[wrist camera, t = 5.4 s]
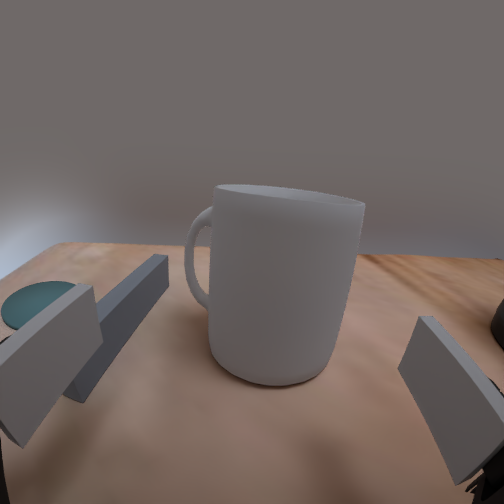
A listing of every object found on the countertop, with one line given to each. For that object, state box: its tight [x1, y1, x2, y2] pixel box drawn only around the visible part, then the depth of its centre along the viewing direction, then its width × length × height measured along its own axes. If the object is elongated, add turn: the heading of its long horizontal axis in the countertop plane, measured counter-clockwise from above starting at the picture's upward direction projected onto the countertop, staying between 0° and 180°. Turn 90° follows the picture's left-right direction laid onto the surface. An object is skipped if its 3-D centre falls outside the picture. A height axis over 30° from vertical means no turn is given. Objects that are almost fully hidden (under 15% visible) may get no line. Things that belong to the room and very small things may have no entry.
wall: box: [63, 254, 169, 403], centre depth 20 cm, size 18×2×4 cm, turn 177°
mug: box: [184, 184, 365, 386], centre depth 19 cm, size 10×12×12 cm
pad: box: [1, 281, 76, 330], centre depth 21 cm, size 10×10×1 cm
